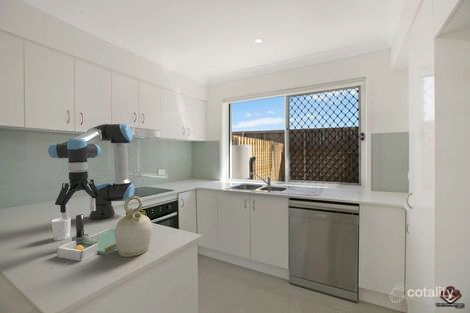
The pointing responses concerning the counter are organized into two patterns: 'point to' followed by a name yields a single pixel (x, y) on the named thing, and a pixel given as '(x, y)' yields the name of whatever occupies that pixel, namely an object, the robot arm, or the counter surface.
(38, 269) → the counter surface
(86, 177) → the robot arm
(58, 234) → the white cup
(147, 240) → the jug
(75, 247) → the ball
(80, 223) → the black lever handle
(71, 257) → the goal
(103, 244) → the pitch
